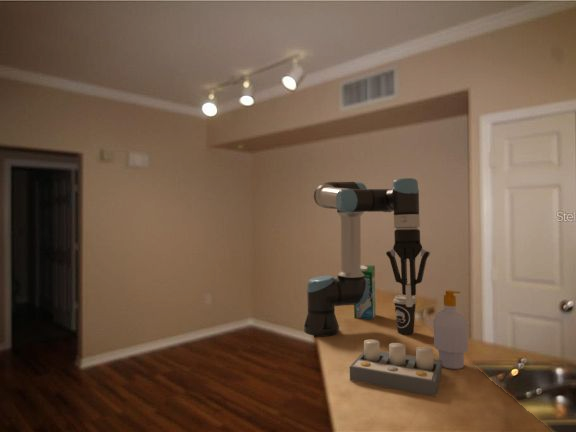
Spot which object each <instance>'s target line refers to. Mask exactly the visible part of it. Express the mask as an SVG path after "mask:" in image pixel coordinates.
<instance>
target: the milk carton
mask: <svg viewBox="0 0 576 432" xmlns="http://www.w3.org/2000/svg"><path fill="white" fill-rule="evenodd" d="M375 268H376V266H375V265H369V264H361V272H362V273H363V274H364V277H365V278H366V279H367V280H368V282H369V284H368V285H369V296H368V299H367V300H366V302H365V303H363V304H358V305H353V311H354V315H353V317H354V319H365V320H366V319H367V320H374V318H375V316H376V314H377V311H376V309H377V307H376V269H375Z"/></svg>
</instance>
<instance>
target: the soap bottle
mask: <svg viewBox="0 0 576 432" xmlns="http://www.w3.org/2000/svg"><path fill="white" fill-rule="evenodd" d="M454 294H461V291H456V290H455V291H454V290H445V294H443V310H440V311H438V312H437V313H436V314H435V315H434V318H433V346H434V349H436V350H437V351H438V360H442V368H446V369H449V370H460V369H462V368H463V367H464V366H465V358H464V357H465V356H464V353H467V352H468V351H469V333H468V332H469V330H468V329H469V328H468V323H467V319H466V317H465V315H463V313H461V312H460V311H457V303H456V301H457V300H456V299H457V297H456V295H454Z"/></svg>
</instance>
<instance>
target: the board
mask: <svg viewBox="0 0 576 432" xmlns="http://www.w3.org/2000/svg"><path fill="white" fill-rule="evenodd" d="M379 351H380V362H374V361H367V360H364V350H363V351H362V352H361V354H359V356H358V357H357V358H355V360H354V362H353V363H351V364H350V366H349V380H350V381H354V382H358V383H365V384H369V385H373V386H379V387H384V388H389V389H394V390H400V391H406V392H410V393H415V394H420V395H425V396H430V397H436V396H437V391H438V389H439V385H440V382H441V379H442V375H443V366H442V360H439V359H437V358H435V359H434V358H433V367H434V371H428V370H422V369H416V355H409V354H405V356H406V366H405V367H404V366H398V365H392V364H390V363H389V351H382V350H379Z"/></svg>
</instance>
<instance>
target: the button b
mask: <svg viewBox="0 0 576 432" xmlns="http://www.w3.org/2000/svg"><path fill="white" fill-rule="evenodd" d="M388 349H389V350H388V352H389V363H390V364H392V365H398V366H404V367H405V366H406V356H405V355H406V345H405V344H403V343H401V342H400V343H399V342H392V343H389V345H388Z"/></svg>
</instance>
